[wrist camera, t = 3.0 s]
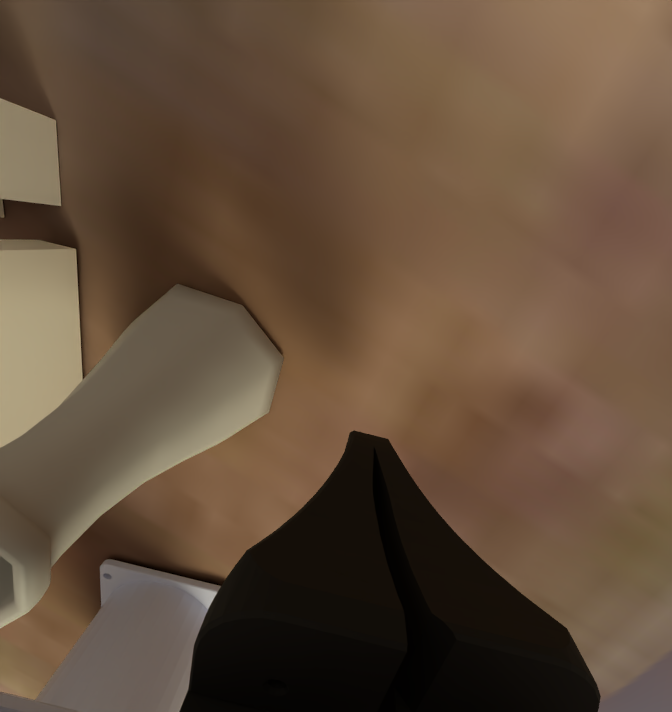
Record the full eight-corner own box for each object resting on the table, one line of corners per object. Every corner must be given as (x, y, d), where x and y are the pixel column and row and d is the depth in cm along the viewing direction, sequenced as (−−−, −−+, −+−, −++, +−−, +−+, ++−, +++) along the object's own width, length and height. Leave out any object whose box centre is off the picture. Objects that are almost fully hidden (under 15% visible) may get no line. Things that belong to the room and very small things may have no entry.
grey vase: (107, 378, 16) (-278, 580, 6) (171, 251, 13) (-283, 272, 4) (233, 458, 17) (63, 737, 7) (313, 352, 14) (216, 560, 5)
